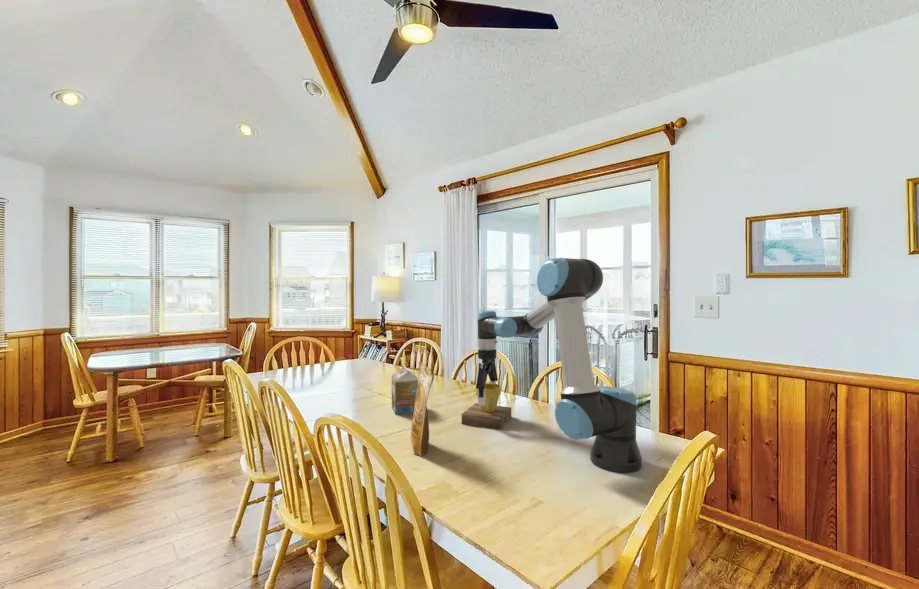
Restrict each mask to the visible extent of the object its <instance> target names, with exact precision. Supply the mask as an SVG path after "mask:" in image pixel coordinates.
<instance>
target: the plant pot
mask: <svg viewBox="0 0 919 589" xmlns="http://www.w3.org/2000/svg"><path fill="white" fill-rule="evenodd" d="M484 389H485V401H486V405H485V406H483V405H479V407H480V410H481V411H484V412H493V411H495V410H496V407H497V406H498V403H499V398H500V395H501V392H502V387H501V385H500V384H492V383H489V382H486V383H485V388H484ZM475 394H476V396H477V398H478V389H476V387H475Z"/></svg>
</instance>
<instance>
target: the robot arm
mask: <svg viewBox="0 0 919 589" xmlns="http://www.w3.org/2000/svg"><path fill="white" fill-rule="evenodd" d="M603 283H604V274H603V271H602V268H601V267H600V266H599V265H598V264H597V263H596V262H595V261H593V260H591V259H587V258H570V257H569V258H566V257H559V258H549V259H547V260H545V262H544V263H542V264H541V266H540V268H539V270H538V272H537V276H536V285H537V286H536V287H537V289H538V291H539V292H540V294H541V295H542V296H545V297H546V298H545V299H544V300H543V301H541V303H539V304H538V305H537V306H535V307H534V308H533V309H531V310H530V311H529V312H527V313H526V314H525V315H518V316H517V315H516V316H497V311H494V310H480V311H478V313H477V348H478V350H477V358H478V359H479V360H481V362H479V363H478V370H477V371H478V372H477V378H476V379H477V380H476V385H475V388H476V389H478V397H477V401H478V402H477V404H478V405H483V406H485V405H486V401H485V389H484V388H485V383H487V379H488V378H489V382H488V383H492V384H496V383H497V382H498V381H499V379H498V378H499V377H498V372H497V367H496V366H497V365H496V359H497V349H496V348H497V344H498V340H497V337H498V338H499V337H500V338H505V339H506V338H507V339H509V338H512V337H514V336H528V335H529V336H531V335H532V336H533V335H537V334H538V335H539V334H540V333H541V332H542V331H543V329H544V326H545V325H547V324H548V323H549V322H551V321H552V320H554V322H555V329H556V336H557V341H558V348H559V357H560V363H561V364H560V365H561V370H562V378H563V385H564V386H563V388H562V389H561V391H560V398H561V400H559V401H558V402H557V403H556V406H555V407H554V408H555V409H554V416H555V420H556V424H557V426H558V427H559V429H560V431H562V432H563V434H564V435H566V437H569V438H570V439H573V440H583V439H585V440H588V439H590V438H591V437H593V438H595V439H594V441H593V444H592V446H591V449H590V459H589V460H590V462H592V464H594V465H595V466H596V467H599V468H600V469H604V470H606V471H610V472H616V473H633V472H636V471H639V470H641V469H642V467H643V458H642V454H641V452H640V448H639V446H638V442H637V407H638V404H637V396H636V394H635V393H634V392H633V391H631V390H628V389H625V388H620V387H615V386H605V385H600V386H598V385H596V384H595V382H594V375H593V368H592V363H591V357H590V349H589V344H588V343H589V342H588V337H587V330H586V324H585V316H584V310H583V303H584V302H585V301H587V300H588V299H589V298H591V297H593V296H594V295H595V294H597V293H598V291H599V290H600V289H601V287H602V286H603Z"/></svg>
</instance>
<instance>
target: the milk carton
mask: <svg viewBox="0 0 919 589" xmlns="http://www.w3.org/2000/svg"><path fill="white" fill-rule="evenodd" d="M417 387H418V377H417V376H416V375H415V374H414V373H413V372H412V371H410V370H409V369H408V368H407V367H406V366H405V364H402V368H401V369H398V371H396V372H394V373H393V374H392V376H391V408H392V411H393V413H394V414H395V415H403V414H404V415H407V414H413V412H414V404H415V399H416V393H417Z"/></svg>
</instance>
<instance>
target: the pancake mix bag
mask: <svg viewBox="0 0 919 589" xmlns="http://www.w3.org/2000/svg"><path fill="white" fill-rule="evenodd" d="M434 377H435V374H434V372H433V371H432V370H431V369H430V368H429V367H428V366H427V365H426V364H425V363H423V362H422V361H419V362H418V377H417V378H418V387H417V393H416V399H415V404H414V412H413V413H412V421H411V430H410V440H411V441H410V442H411V446H412V450H413V454H414V455H417V456H420V457H422V456H425V455H426V454H427V453H428V451H429V444H430V442H429V441H430V424H429V414H428V406H427V405H428V398H429V394H430V391H431V388H432V385H433V382H434V380H435V378H434Z"/></svg>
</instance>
